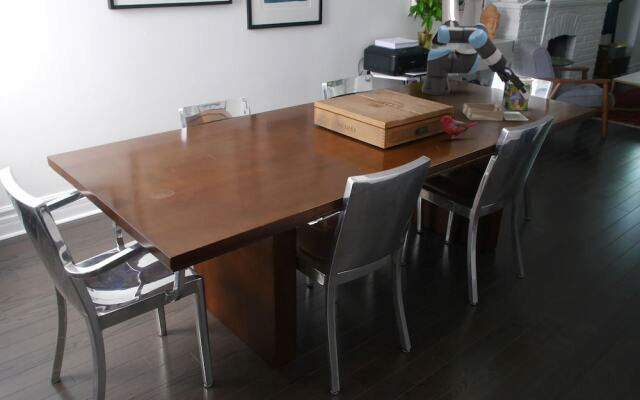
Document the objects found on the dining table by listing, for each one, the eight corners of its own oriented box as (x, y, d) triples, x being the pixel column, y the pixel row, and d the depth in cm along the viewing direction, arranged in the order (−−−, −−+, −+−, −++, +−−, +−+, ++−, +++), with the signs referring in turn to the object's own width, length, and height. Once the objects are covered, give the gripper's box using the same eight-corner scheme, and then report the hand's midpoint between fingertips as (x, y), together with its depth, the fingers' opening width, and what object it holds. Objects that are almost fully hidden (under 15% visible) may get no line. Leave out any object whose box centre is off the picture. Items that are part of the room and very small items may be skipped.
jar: (504, 109, 255) (509, 78, 249) (506, 105, 264) (511, 75, 258) (528, 112, 252) (533, 80, 246) (528, 107, 260) (534, 76, 254)
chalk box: (527, 110, 237) (533, 77, 231) (506, 110, 238) (512, 77, 232) (520, 105, 246) (525, 73, 240) (500, 105, 246) (505, 73, 240)
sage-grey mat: (497, 112, 250) (497, 111, 250) (518, 112, 250) (518, 111, 250) (506, 120, 238) (506, 119, 237) (528, 120, 237) (528, 119, 237)
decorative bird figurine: (436, 139, 210) (438, 114, 206) (475, 136, 215) (478, 112, 211) (439, 141, 208) (442, 116, 204) (479, 138, 212) (482, 113, 208)
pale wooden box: (462, 111, 251) (463, 103, 249) (493, 112, 251) (494, 103, 249) (469, 119, 238) (471, 111, 236) (502, 120, 237) (504, 111, 236)
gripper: (477, 62, 242) (504, 95, 251) (500, 70, 222) (528, 106, 230) (489, 50, 241) (516, 83, 249) (513, 57, 220) (541, 94, 229)
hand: (522, 94), depth 240 cm, fingers closed on chalk box, 10 cm apart
